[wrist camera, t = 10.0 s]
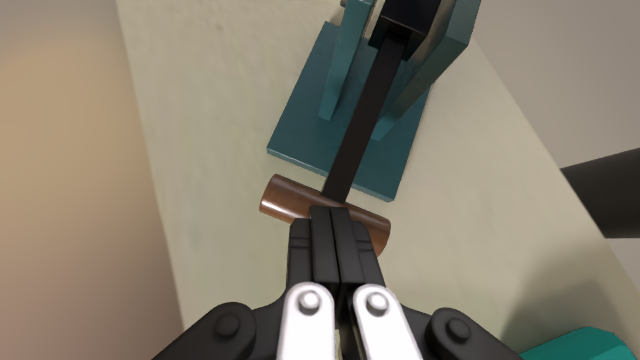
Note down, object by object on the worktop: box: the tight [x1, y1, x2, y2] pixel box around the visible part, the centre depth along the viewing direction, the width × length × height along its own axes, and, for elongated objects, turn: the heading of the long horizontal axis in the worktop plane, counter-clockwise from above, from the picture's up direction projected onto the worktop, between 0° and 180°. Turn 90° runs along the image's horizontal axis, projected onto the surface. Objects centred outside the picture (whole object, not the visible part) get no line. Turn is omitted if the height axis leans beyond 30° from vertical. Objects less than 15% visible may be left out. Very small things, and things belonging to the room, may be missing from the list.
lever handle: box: [259, 0, 441, 257], centre depth 13 cm, size 12×6×2 cm, turn 159°
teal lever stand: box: [267, 0, 481, 202], centre depth 17 cm, size 12×10×12 cm
